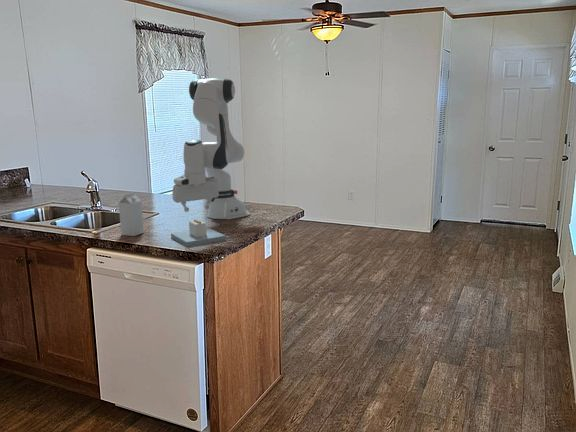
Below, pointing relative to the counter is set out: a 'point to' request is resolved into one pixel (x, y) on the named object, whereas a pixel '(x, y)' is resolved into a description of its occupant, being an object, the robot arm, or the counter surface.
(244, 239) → the counter surface
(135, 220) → the milk carton
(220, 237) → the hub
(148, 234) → the counter surface
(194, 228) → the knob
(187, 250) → the counter surface
